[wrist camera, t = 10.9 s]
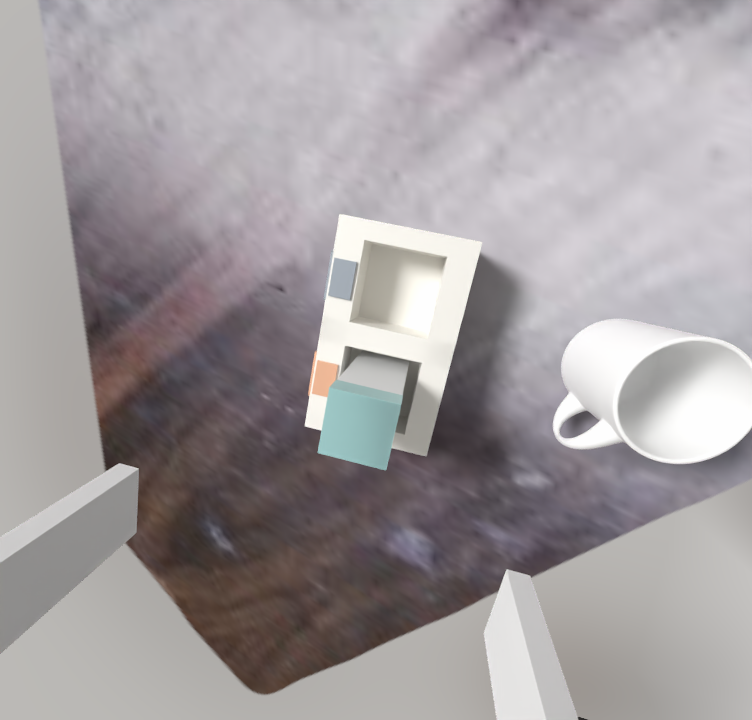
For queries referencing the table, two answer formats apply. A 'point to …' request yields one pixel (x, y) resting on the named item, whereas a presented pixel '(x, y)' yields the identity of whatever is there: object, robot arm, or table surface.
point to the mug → (656, 391)
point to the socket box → (394, 315)
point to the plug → (364, 410)
